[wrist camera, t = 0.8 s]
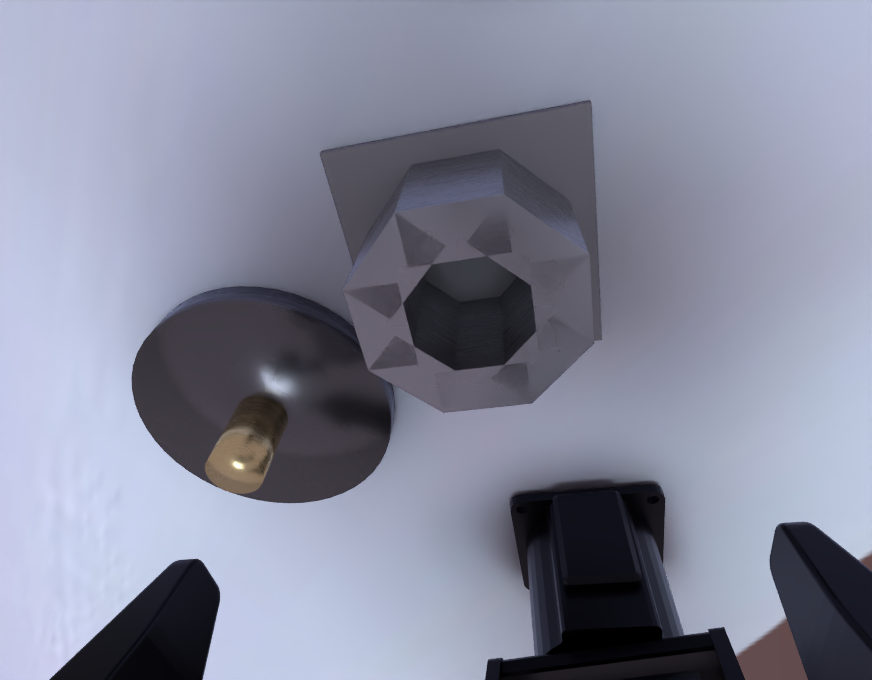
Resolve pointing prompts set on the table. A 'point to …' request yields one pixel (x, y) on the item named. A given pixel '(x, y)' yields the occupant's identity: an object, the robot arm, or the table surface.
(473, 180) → the ring
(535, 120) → the stand pad
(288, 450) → the hub
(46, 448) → the table surface
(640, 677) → the robot arm
